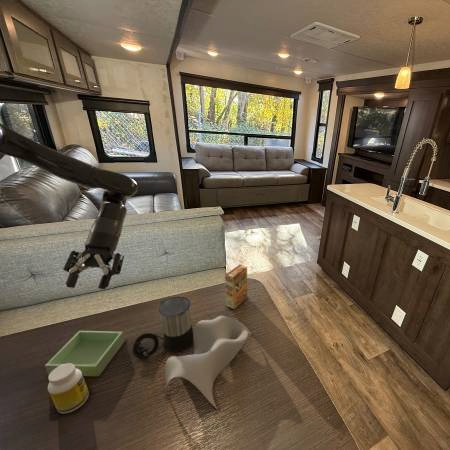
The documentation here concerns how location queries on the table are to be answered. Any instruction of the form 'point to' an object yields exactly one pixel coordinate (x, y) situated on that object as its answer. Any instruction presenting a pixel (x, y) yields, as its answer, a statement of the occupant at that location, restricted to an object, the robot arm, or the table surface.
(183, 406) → the table surface
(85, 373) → the shallow green tray
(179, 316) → the milk frother
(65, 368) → the pill bottle
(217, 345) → the sculpture
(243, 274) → the candy box
